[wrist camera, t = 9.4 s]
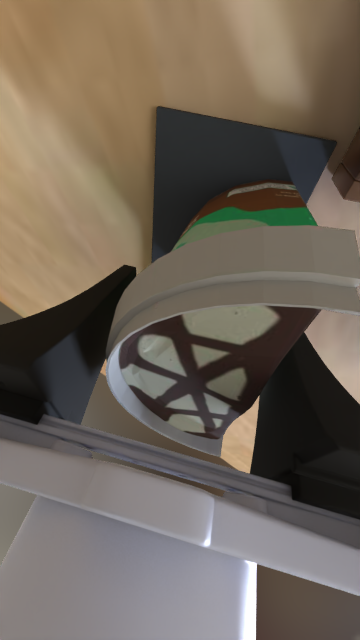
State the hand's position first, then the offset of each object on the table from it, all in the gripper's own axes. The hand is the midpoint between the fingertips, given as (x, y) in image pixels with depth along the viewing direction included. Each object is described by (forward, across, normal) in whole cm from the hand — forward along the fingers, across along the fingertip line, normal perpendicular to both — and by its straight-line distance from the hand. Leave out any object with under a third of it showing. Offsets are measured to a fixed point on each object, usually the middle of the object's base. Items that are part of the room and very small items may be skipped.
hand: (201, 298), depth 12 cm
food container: (+5, 0, 0) cm, 5 cm away
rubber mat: (+5, 0, 0) cm, 5 cm away
